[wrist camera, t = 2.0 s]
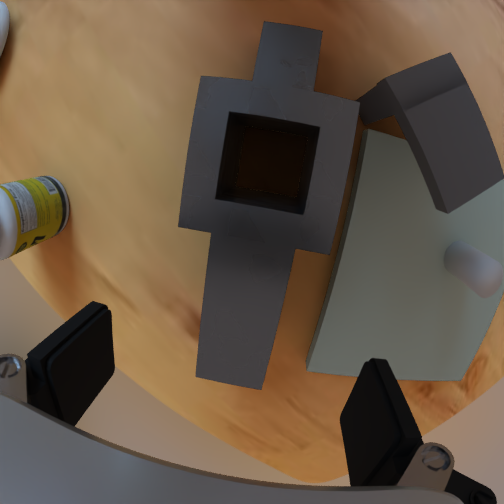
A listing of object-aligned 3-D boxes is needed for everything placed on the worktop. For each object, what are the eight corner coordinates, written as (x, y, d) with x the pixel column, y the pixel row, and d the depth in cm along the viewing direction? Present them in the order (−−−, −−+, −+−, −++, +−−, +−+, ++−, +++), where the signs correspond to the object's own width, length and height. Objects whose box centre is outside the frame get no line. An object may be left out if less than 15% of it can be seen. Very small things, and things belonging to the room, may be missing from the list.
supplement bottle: (36, 238, 20) (-39, 274, 12) (26, 182, 19) (-54, 201, 11) (76, 232, 20) (-5, 271, 12) (66, 169, 18) (-23, 184, 10)
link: (238, 38, 15) (220, -8, 9) (344, 55, 15) (370, 16, 9) (196, 317, 21) (169, 370, 15) (287, 334, 21) (288, 394, 15)
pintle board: (356, 64, 15) (389, 27, 9) (528, 141, 14) (583, 145, 9) (292, 359, 21) (294, 421, 15) (455, 372, 21) (484, 419, 15)
